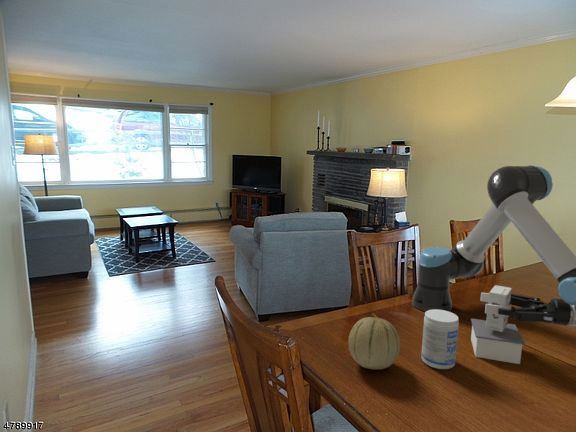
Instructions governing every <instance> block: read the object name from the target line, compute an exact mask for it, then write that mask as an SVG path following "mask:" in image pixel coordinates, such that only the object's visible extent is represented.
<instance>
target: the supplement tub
mask: <svg viewBox="0 0 576 432" xmlns="http://www.w3.org/2000/svg"><path fill="white" fill-rule="evenodd" d="M459 325H460V323H459V316H458V315H457V314H456V313H453V312H451V311H445V310H437V309H433V310H428V311H426V312H425V311H424V318H423V326H422V327H423V328H422V329H423V330H422V342H421V343H422V344H421V353H420V355H421V360H422V361H423V363H425V365H427V366H428V367H431V368H434V369H436V370H449V369H452V368H453V367H454V366H455V365H456V361H457V360H456V357H457V348H458V347H457V346H458V336H459V335H458V334H459Z"/></svg>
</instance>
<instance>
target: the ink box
mask: <svg viewBox="0 0 576 432" xmlns="http://www.w3.org/2000/svg"><path fill="white" fill-rule="evenodd" d="M488 293H489V300H488V302H487V304H492V305H500V306H508V307H511V304H510V299H511V294H512V287H508V286H504V285H503V286H501V285H497V284H494V286H493V287H492V288H491V290H490V291H489V292H488ZM509 317H510V316H503V315H495V314H488V313H486V318H485V319H486V328H489V329H493V330H496V331H500V332H503V330H504V329H505V327H506V325H507V324H509Z"/></svg>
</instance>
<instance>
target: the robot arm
mask: <svg viewBox="0 0 576 432" xmlns="http://www.w3.org/2000/svg"><path fill="white" fill-rule="evenodd" d="M553 185H554V184H553V178H552V175H551V174H550V172H549V171H548V170H547V169H546V168H543V167H542V166H538V165H537V166H535V165H520V166H519V165H517V166H516V165H507V166H505V165H504V166H502V167H499V168H497V169H496V170H495V171H494V172H492V173H491V174H490V176H489V178H488V180H487V195H488V197H489V199H490V201H491V202H492V204H491V206H490V207H489V208H488V210H486V211H485V213H484V214H483V216H482V217H481V218H480V220H479V221H478V222H477V223H476V225H475V226H474V227H473V228H472V230H471V231H470V232H469V233H468V234H467V237H466V238H465V239H463V240H459V241H457V243H456V244H455V245H454V246H453V247H452V249H449V248H448V247H443V246H437V247H436V246H431V247H427V248H424V249H423V250H422V251H421V252H420V255H419V259H418V276H417V277H418V278H417V287H416V289H415V290H414V293H413V295H412V299H411V305H412V306H413V307H414V308H416V309H417V310H419V311H422V312H424V313H425V312H426V311H428V310H433V309H437V310H445V311H449V312H451V311H452V308H453V302H452V299H451V293H450V291H449V289H450V288H449V287H450V280H451V281H452V280H456V279H463V278H472V277H474V276H476V275H478V274H479V273H481V272H482V270H483V268H484V267H485V264H484V262H485V259H486V256H485V253H486V252H487V251H488V249H489V248H490V247H492V245H493V244H494V242H496V240H497V239H498V238H499V237H500V235H501V234H502V233H503V232H504V230H506V229H507V227H508V226H509V225H510V223H512V225H514V227H515V228H516V229H517V230H518V232H519V233H520V235H521V236H522V237H523V238H524V239H525V241H526V242H527V243H528V245H529V246H530V247H531V248H532V249H533V251H534V253H536V255H537V256H538V257H539V258H540V260H541V261H542V263H543V264H544V265H545V267H546V268H547V269H548V270H549V272H551V274H552V275H553V276H554V278H555V279H556V280H557V282H559V284H558V288H557V290H558V294H559V297H560V298H552V299H550V301H549V302H544V301H542V299H541V298H539V297H533V296H526V295H521V294H516V293H511V299H510V307H508V306H500V305H492V304H488V300H489V292H481V293H480V302H483V303H484V302H486V303H485V309H484V314H487V313H488V314H495V315H503V316H509V317H510V318H512V319H513V320H514V321H519V322H534V323H535V322H536V323H537V322H539V323H540V322H541V323H548V324H553V325H556V326H557V325H559V326H569V327H575V329H576V255H575V253H574V252H573V251H572V250H571V248H570V247H569V246H568V245H567V244H566V243H565V242H564V240H563V239H562V238H561V237H560V235H559V234H558V233H557V232H556V231H555V230H554V229H553V227H552V226H551V225H550V224H549V222H548V221H547V220H546V219H545V218H544V216H543V215H542V214H541V213H540V211H538V209H537V208H536V207H535V206H534V205H533V204H534V203H535V202H537V201H541V200H544V199H546V198H548V196H550V194H551V192H552V190H553Z"/></svg>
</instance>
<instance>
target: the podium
mask: <svg viewBox="0 0 576 432" xmlns="http://www.w3.org/2000/svg"><path fill="white" fill-rule="evenodd" d="M470 323H471V335H470V341H471V345H472V349H473V353H474V356H475V358H482V359H486V360H494V361H498V362H499V361H500V362H505V363H512V364H517V365H521V359H522V350H523V346H525V345H526V343H525V341H524V338H523V337H522V335H521V333H520V331H519V330H518V327H517V326H516V324H515V323H514V324H513V323H507V325H506V327H505V329H504V330H503V332H500V331H496V330H493V329H489V328H486V320H485V319H476V318H470Z"/></svg>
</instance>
